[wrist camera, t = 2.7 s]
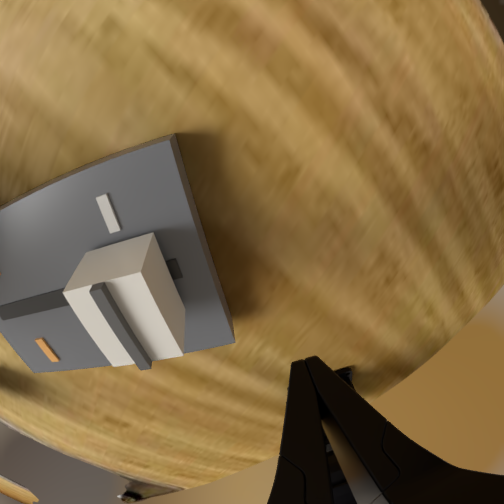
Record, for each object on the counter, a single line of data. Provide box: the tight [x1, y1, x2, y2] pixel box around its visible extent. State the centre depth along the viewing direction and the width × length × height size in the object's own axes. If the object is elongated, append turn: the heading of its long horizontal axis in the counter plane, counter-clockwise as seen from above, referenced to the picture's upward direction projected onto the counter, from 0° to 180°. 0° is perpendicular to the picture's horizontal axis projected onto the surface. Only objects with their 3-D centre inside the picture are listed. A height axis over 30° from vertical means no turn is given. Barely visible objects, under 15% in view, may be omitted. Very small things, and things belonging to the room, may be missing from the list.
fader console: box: [0, 133, 235, 373], centre depth 16 cm, size 18×13×3 cm
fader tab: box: [62, 233, 185, 370], centre depth 13 cm, size 4×5×4 cm
